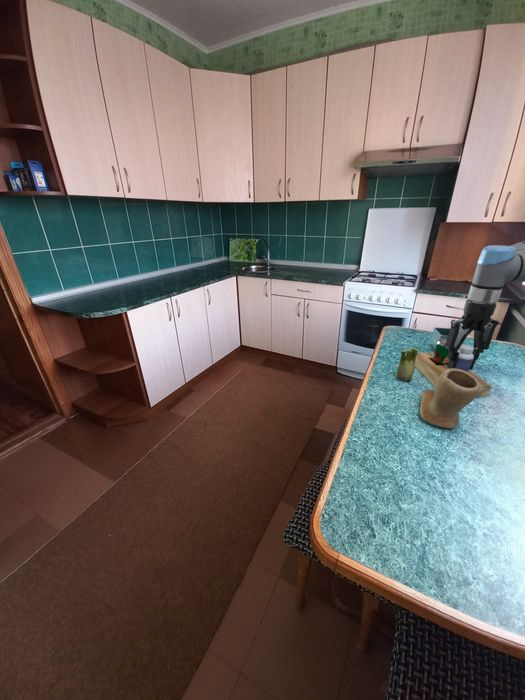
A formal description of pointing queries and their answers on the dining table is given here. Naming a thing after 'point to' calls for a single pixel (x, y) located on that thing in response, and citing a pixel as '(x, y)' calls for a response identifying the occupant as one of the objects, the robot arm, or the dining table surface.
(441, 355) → the soda can
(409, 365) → the fennel bulb
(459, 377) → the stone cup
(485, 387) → the socket block
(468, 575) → the dining table surface
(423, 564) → the dining table surface
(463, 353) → the pill bottle
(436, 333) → the flower pot
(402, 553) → the dining table surface
